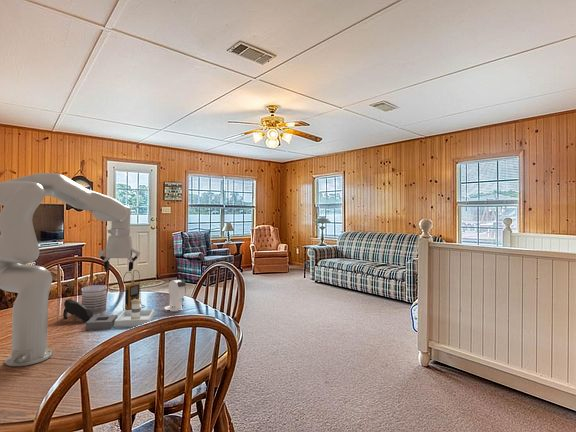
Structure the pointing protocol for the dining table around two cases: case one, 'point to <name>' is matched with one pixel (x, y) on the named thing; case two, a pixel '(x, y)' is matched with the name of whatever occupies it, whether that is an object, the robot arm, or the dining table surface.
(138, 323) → the parts tray
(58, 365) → the dining table surface
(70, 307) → the gun
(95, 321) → the grey flat square block
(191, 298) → the dining table surface
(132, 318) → the cylinder
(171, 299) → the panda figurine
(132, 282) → the multimeter
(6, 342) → the dining table surface
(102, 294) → the can
